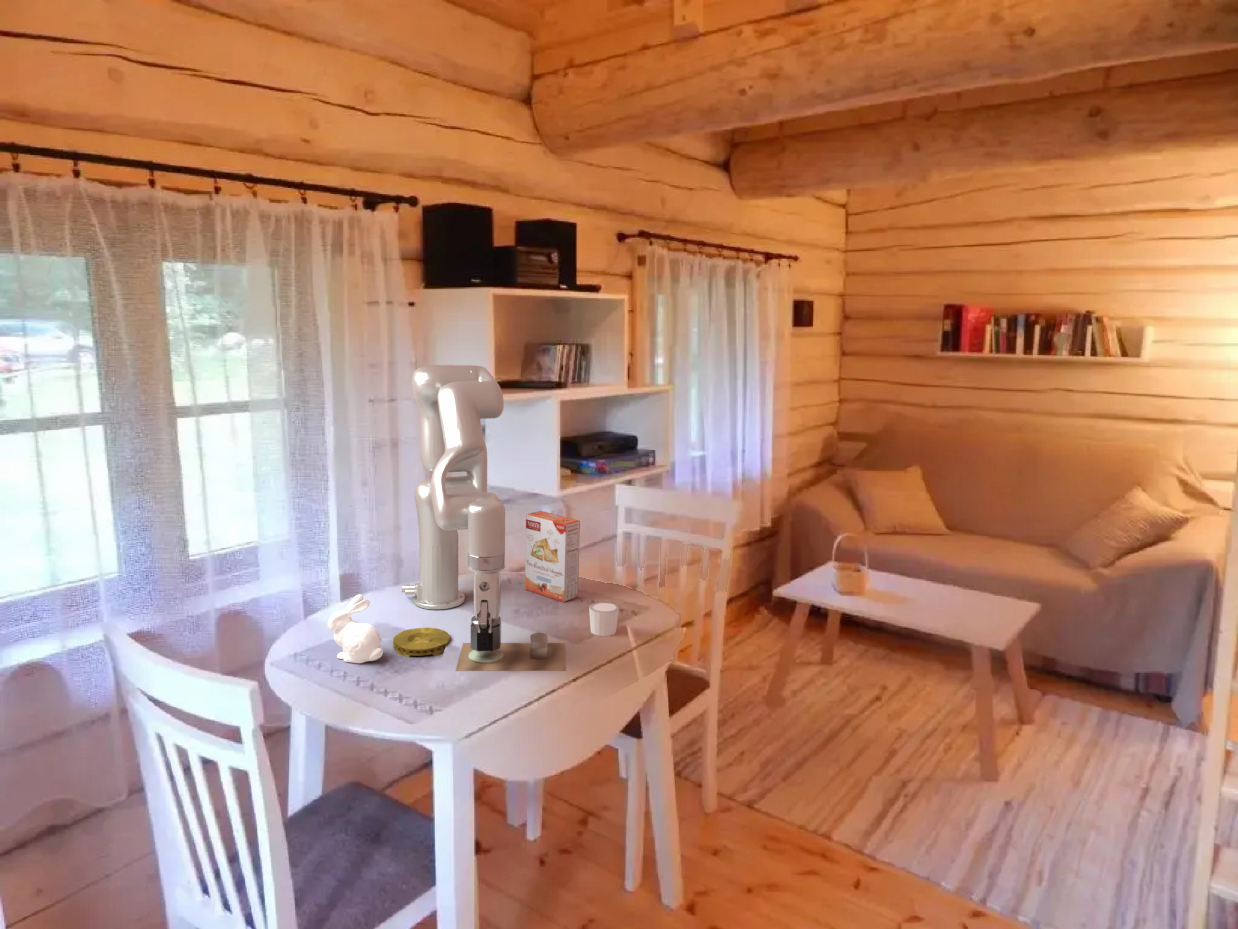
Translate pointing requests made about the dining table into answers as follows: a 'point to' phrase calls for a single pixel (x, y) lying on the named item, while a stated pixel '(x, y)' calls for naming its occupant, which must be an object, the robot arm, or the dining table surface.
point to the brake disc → (421, 642)
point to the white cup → (603, 618)
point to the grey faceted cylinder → (495, 628)
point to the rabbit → (355, 634)
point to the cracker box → (552, 555)
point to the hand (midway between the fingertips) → (486, 643)
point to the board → (515, 656)
